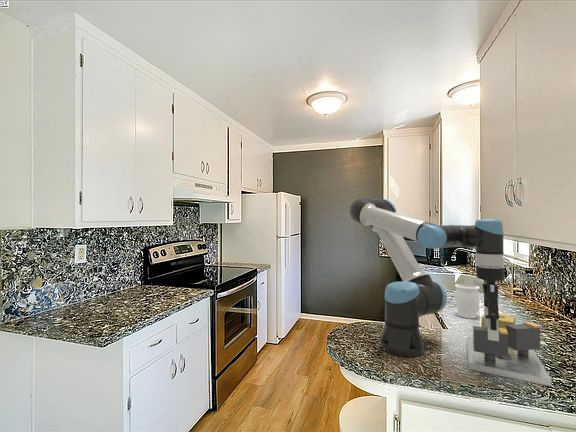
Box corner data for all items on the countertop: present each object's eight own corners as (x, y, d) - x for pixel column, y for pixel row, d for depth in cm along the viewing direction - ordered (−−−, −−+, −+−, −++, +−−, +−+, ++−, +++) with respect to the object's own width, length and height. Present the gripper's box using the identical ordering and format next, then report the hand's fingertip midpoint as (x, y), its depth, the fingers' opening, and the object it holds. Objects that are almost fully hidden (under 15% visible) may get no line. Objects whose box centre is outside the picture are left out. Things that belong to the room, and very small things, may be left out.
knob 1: (473, 358, 98) (473, 327, 98) (473, 354, 101) (473, 323, 102) (508, 365, 93) (507, 332, 94) (506, 360, 97) (506, 328, 97)
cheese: (484, 334, 125) (484, 310, 125) (517, 341, 118) (516, 315, 118) (480, 342, 117) (480, 316, 117) (515, 350, 110) (515, 322, 110)
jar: (473, 313, 154) (472, 283, 154) (484, 320, 144) (484, 288, 144) (451, 312, 155) (451, 283, 155) (460, 319, 145) (460, 287, 145)
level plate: (468, 369, 95) (468, 360, 95) (466, 342, 116) (466, 335, 116) (551, 386, 85) (551, 377, 85) (532, 354, 106) (532, 346, 106)
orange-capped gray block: (516, 358, 99) (516, 327, 99) (506, 353, 103) (505, 323, 103) (540, 356, 100) (540, 325, 100) (528, 351, 104) (528, 322, 104)
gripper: (509, 273, 85) (511, 349, 85) (499, 263, 107) (500, 324, 106) (478, 271, 89) (479, 344, 88) (474, 262, 111) (475, 320, 110)
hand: (491, 333), depth 97 cm, fingers open, 13 cm apart
